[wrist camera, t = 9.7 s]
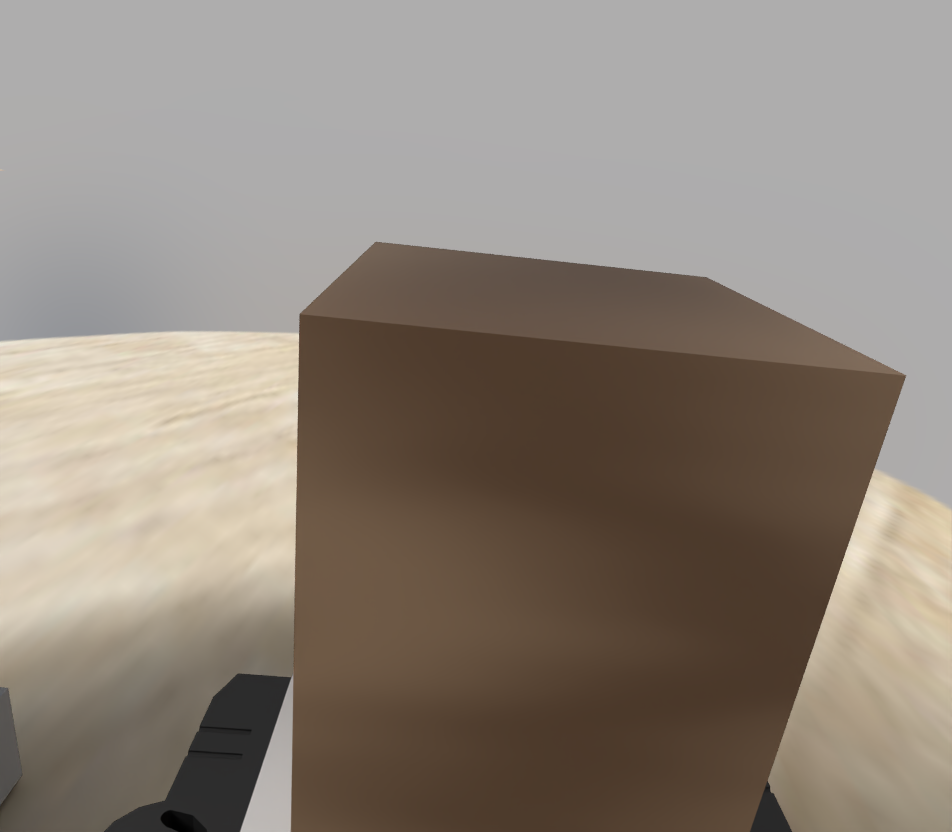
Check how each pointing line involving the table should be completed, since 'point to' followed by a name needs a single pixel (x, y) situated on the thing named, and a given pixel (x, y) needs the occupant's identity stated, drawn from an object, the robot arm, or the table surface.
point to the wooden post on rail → (557, 544)
